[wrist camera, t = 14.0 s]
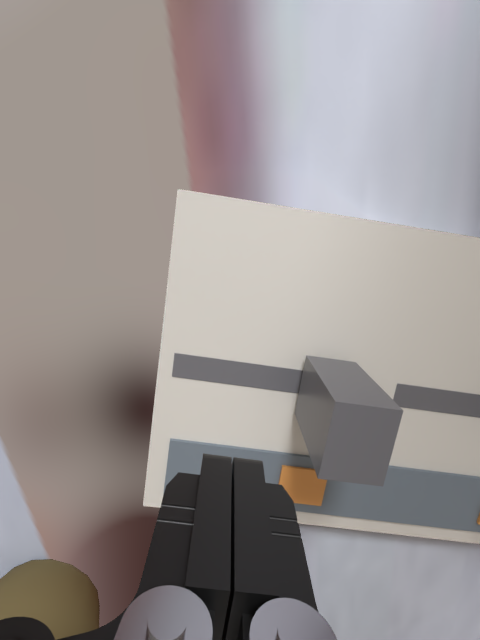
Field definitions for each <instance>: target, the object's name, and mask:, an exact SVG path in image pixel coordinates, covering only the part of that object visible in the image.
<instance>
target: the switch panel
mask: <svg viewBox="0 0 480 640" xmlns="http://www.w3.org/2000/svg"><path fill="white" fill-rule="evenodd" d="M306 355H308V356H315V357H322V358H329V359H337V360H344V361H351V362H356V363H357V364H358V365H359V366H360V367H361V368H362V369H363V370H364V371H365V372H366V373H367V374H368V375H369V376H370V377H371V378H372V379H373V380H374V381H375V382H376V383H377V384H378V385H379V386H380V387H381V388H382V389H383V390H384V391H385V392H386V393H387V394H388V395H389V396H390V397H391V398H392V399H393V400H394V401H395V402H396V403H397V404H398V406H399V407H400V408H401V409H402V410H403V414H402V418H401V422H400V425H399V429H398V433H397V437H396V440H395V444H394V448H393V452H392V455H391V459H390V463H389V466H388V470H387V474H386V478H385V481H384V485H383V487H382V486H374V485H365V484H357V483H349V482H341V481H332V480H324V479H318V478H317V475H316V472H315V469H314V466H313V464H312V461H311V458H310V455H309V452H308V450H307V447H306V444H305V441H304V438H303V436H302V433H301V430H300V427H299V424H298V422H297V419H296V416H295V409H296V404H297V399H298V394H299V389H300V384H301V379H302V374H303V369H304V364H305V359H306ZM203 453H204V454H212V455H220V456H228V457H232V461H233V458H234V457H237V458H245V459H253V460H260V461H262V462H263V467H264V475H265V483H271V484H279V485H282V486H283V487H284V489H285V490H286V491H287V493H288V494H289V496H290V497H291V498H292V500H293V501H294V506H295V511H296V515H297V523H299V524H307V525H316V526H325V527H334V528H343V529H352V530H360V531H369V532H378V533H387V534H396V535H404V536H413V537H422V538H431V539H440V540H448V541H457V542H466V543H475V544H480V238H478V237H472V236H466V235H460V234H454V233H447V232H441V231H435V230H429V229H423V228H416V227H410V226H404V225H398V224H392V223H385V222H379V221H373V220H367V219H361V218H355V217H348V216H342V215H336V214H330V213H324V212H317V211H311V210H305V209H299V208H293V207H286V206H280V205H274V204H268V203H262V202H255V201H249V200H243V199H237V198H231V197H225V196H218V195H212V194H206V193H200V192H194V191H187V190H181V189H178V192H177V201H176V210H175V219H174V228H173V237H172V246H171V255H170V264H169V273H168V282H167V292H166V300H165V310H164V319H163V328H162V337H161V346H160V355H159V364H158V374H157V382H156V392H155V401H154V410H153V419H152V428H151V437H150V447H149V456H148V465H147V474H146V483H145V492H144V502H143V506H149V507H158V508H160V507H161V503H162V499H163V495H164V492H165V488H166V485H167V484H168V483H169V482H170V481H171V480H172V479H173V478H174V477H175V476H176V474H177V473H178V472H181V473H189V474H197V475H200V471H201V465H202V458H203Z"/></svg>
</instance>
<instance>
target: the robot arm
mask: <svg viewBox="0 0 480 640" xmlns="http://www.w3.org/2000/svg"><path fill="white" fill-rule="evenodd" d="M0 640H55V638H54V636H53V634H52V632H51V630H50V629H49V628H48V627H47V626H46V625H45V624H44V623H42V622H41V621H39V620H37V619H34V618H30V617H11V618H5V619H2V620H0ZM57 640H337V639H336V636H335V634H334V632H333V630H332V628H331V627H330V625H329V624H328V622H327V621H326V620H325V619H324V618H323V617H322V615H321V614H320V613H319V612H318V609H317V606H316V602H315V598H314V593H313V589H312V584H311V579H310V575H309V570H308V566H307V561H306V556H305V552H304V547H303V543H302V539H301V534H300V529H299V524H298V523H297V515H296V511H295V506H294V501H293V500H292V498H291V497H290V496H289V494H288V493H287V491H286V490H285V489H284V487H283V486H282V485H279V484H271V483H265V475H264V467H263V462H262V461H260V460H253V459H245V458H237V457H234V458H233V461H232V457H228V456H220V455H212V454H204V453H203V458H202V465H201V471H200V475H197V474H189V473H181V472H178V473H177V474H176V476H175V477H174V478H173V479H172V480H171V481H170V482H169V483H168V484H167V485H166V488H165V492H164V495H163V499H162V503H161V507H160V511H159V514H158V518H157V523H156V526H155V529H154V533H153V537H152V541H151V544H150V548H149V552H148V556H147V559H146V563H145V567H144V571H143V575H142V578H141V582H140V586H139V589H138V591H137V594H136V596H135V597H134V599H133V601H132V602H131V603H130V605H129V606H128V607H127V608H126V609H125V611H124V612H123V613H122V614H120V615H119V616H118V617H117V618H116V619H114V620H113V621H111V622H110V623H108V624H107V625H104V626H102V627H100V628H98V629H95V630H92V631H89V632H85V633H81V634H77V635H73V636H69V637H65V638H61V639H57Z"/></svg>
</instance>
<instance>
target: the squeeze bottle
mask: <svg viewBox="0 0 480 640" xmlns="http://www.w3.org/2000/svg"><path fill="white" fill-rule="evenodd" d="M11 617H30V618H34V619H37V620H39V621H41V622H42V623H44V624H45V625H46V626H47V627H48V628H49V629H50V630H51V632H52V634H53V636H54V638H55V640H57V639H61V638H65V637H69V636H73V635H77V634H81V633H85V632H89V631H92V630H95V629H98V628H99V599H98V592H97V589H96V588H95V586H94V585H93V583H92V582H91V580H90V579H89V577H88V576H87V575H86V574H84V573H83V572H81V571H80V570H78V569H77V568H75V567H74V566H73V565H70V564H67V563H63V562H60V561H56V560H53V559H48V560H31V561H29V562H26V563H24V564H21V565H19V566H17V567H14V568H13V569H12V570H11V571H9V572H8V573H7V574H6V575H5V576H3V577H2V578H1V579H0V620H2V619H5V618H11Z"/></svg>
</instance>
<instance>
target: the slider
mask: <svg viewBox="0 0 480 640" xmlns="http://www.w3.org/2000/svg"><path fill="white" fill-rule="evenodd" d="M402 414H403V410H402V409H401V408H400V407H399V406H398V404H397V403H396V402H395V401H394V400H393V399H392V398H391V397H390V396H389V395H388V394H387V393H386V392H385V391H384V390H383V389H382V388H381V387H380V386H379V385H378V384H377V383H376V382H375V381H374V380H373V379H372V378H371V377H370V376H369V375H368V374H367V373H366V372H365V371H364V370H363V369H362V368H361V367H360V366H359V365H358V364H357V363H356V362H351V361H344V360H337V359H329V358H322V357H315V356H308V355H306V359H305V364H304V369H303V374H302V379H301V384H300V389H299V394H298V399H297V404H296V409H295V416H296V419H297V422H298V424H299V427H300V430H301V433H302V436H303V438H304V441H305V444H306V447H307V450H308V452H309V455H310V458H311V461H312V464H313V466H314V469H315V472H316V475H317V478H318V479H324V480H332V481H341V482H349V483H357V484H365V485H374V486H382V487H383V485H384V481H385V478H386V474H387V470H388V466H389V463H390V459H391V455H392V452H393V448H394V444H395V440H396V437H397V433H398V429H399V425H400V422H401V418H402Z"/></svg>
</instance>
